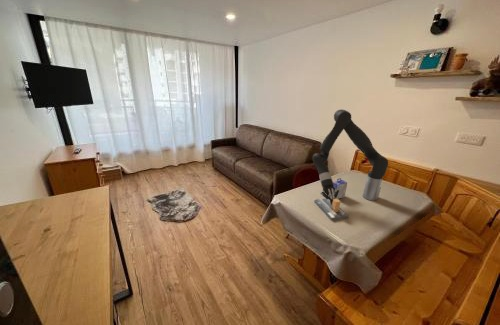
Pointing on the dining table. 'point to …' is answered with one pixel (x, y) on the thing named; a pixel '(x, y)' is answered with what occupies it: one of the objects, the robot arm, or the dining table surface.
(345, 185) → the ink cartridge box
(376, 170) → the robot arm
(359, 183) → the dining table surface
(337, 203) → the switch tab
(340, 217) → the switch panel
